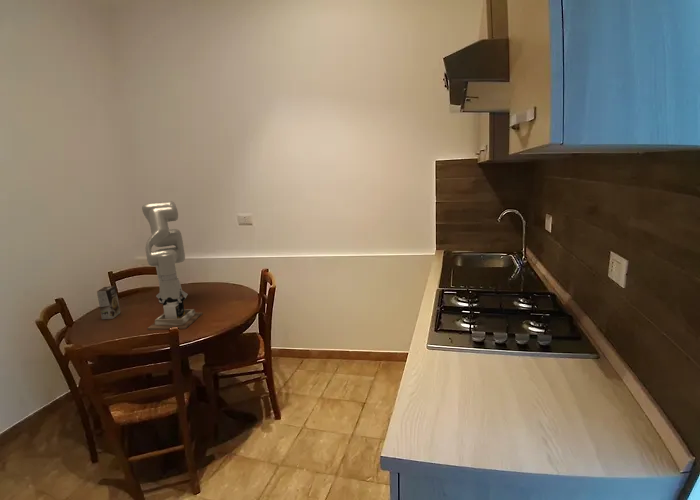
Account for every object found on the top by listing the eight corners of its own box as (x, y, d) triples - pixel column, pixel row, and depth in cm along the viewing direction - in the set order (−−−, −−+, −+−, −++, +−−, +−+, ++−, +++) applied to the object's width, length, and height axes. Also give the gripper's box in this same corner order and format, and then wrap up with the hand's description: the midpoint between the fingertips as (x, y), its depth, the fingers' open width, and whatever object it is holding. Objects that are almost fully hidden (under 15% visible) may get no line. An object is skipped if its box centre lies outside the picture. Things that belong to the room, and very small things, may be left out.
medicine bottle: (177, 319, 222) (173, 297, 219) (165, 319, 223) (161, 297, 220) (185, 314, 228) (181, 292, 226) (173, 313, 230) (169, 292, 227)
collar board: (167, 315, 237) (166, 308, 236) (202, 313, 235) (201, 307, 234) (147, 329, 218) (146, 322, 217) (185, 328, 216) (184, 321, 215)
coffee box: (113, 318, 237) (108, 290, 233) (101, 319, 236) (95, 291, 233) (121, 312, 246) (115, 285, 242) (109, 313, 245) (104, 286, 242)
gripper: (148, 279, 218) (154, 312, 222) (181, 278, 216) (187, 311, 220) (156, 275, 225) (161, 307, 229) (188, 274, 224) (193, 306, 228)
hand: (174, 309), depth 225 cm, fingers closed on medicine bottle, 7 cm apart
